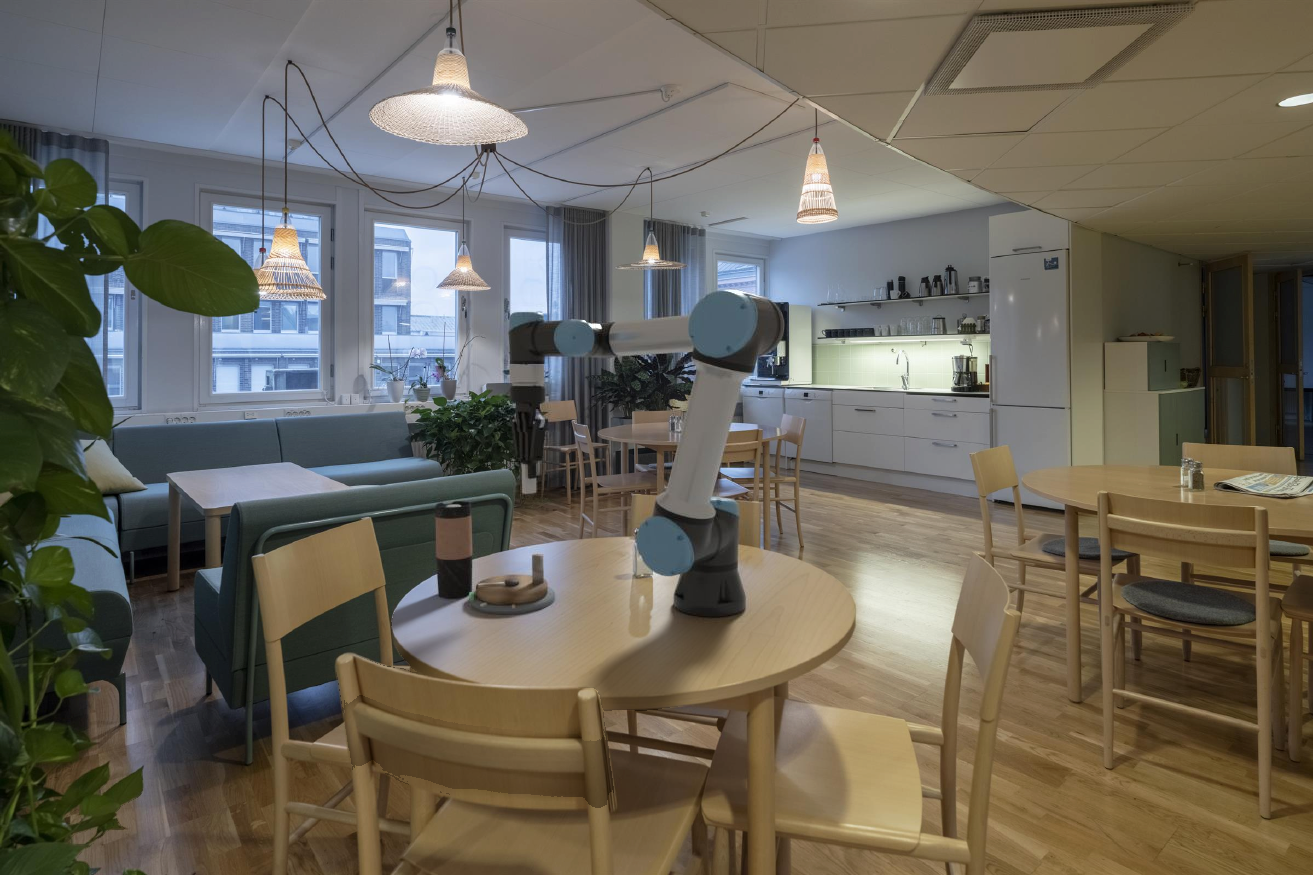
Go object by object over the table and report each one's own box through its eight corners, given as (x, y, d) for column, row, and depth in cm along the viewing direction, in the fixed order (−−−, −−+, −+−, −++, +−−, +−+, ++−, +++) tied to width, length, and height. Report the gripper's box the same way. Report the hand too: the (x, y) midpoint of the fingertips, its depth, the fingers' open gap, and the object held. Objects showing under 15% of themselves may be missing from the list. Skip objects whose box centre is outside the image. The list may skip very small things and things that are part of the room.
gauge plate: (569, 593, 162) (569, 585, 162) (525, 619, 145) (525, 610, 145) (500, 584, 168) (500, 576, 168) (450, 607, 152) (450, 599, 152)
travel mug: (463, 600, 157) (461, 508, 155) (430, 598, 158) (428, 506, 156) (479, 589, 164) (477, 501, 162) (447, 587, 166) (445, 500, 164)
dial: (544, 581, 166) (543, 546, 165) (551, 601, 151) (550, 563, 150) (475, 585, 162) (475, 550, 161) (476, 607, 148) (475, 568, 147)
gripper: (558, 385, 156) (559, 494, 158) (528, 384, 166) (529, 487, 168) (527, 385, 151) (529, 498, 153) (497, 384, 161) (499, 490, 163)
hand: (529, 492), depth 160 cm, fingers closed
